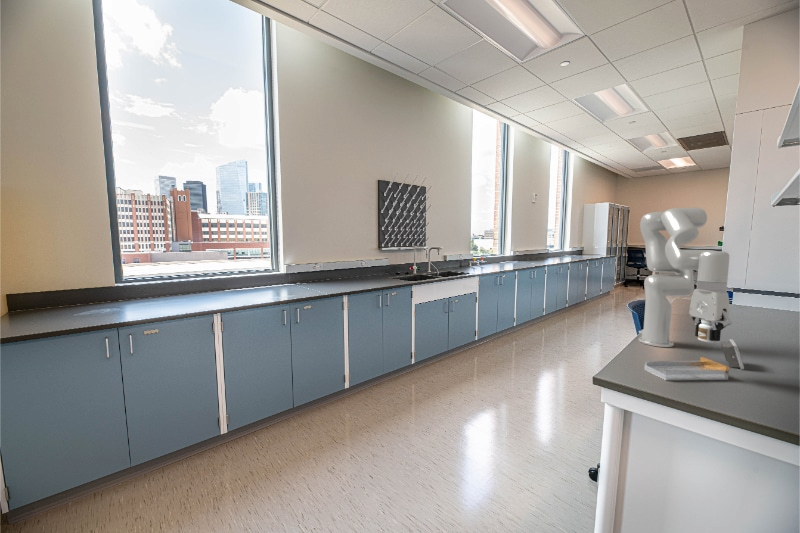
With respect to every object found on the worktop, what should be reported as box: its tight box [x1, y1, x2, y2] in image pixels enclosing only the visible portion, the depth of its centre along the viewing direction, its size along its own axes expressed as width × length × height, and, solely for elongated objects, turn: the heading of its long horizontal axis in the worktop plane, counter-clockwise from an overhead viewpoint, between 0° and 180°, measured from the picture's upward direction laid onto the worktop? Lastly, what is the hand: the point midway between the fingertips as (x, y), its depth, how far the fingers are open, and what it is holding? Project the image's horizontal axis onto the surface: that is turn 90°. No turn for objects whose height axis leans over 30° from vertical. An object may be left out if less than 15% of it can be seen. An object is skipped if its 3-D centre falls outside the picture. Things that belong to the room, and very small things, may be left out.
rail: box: [644, 356, 730, 381], centre depth 114 cm, size 9×22×4 cm, turn 92°
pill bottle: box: [697, 319, 716, 343], centre depth 113 cm, size 4×4×8 cm
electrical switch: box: [720, 338, 745, 370], centre depth 123 cm, size 9×5×9 cm, turn 141°
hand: (707, 337), depth 114 cm, fingers closed on pill bottle, 4 cm apart
